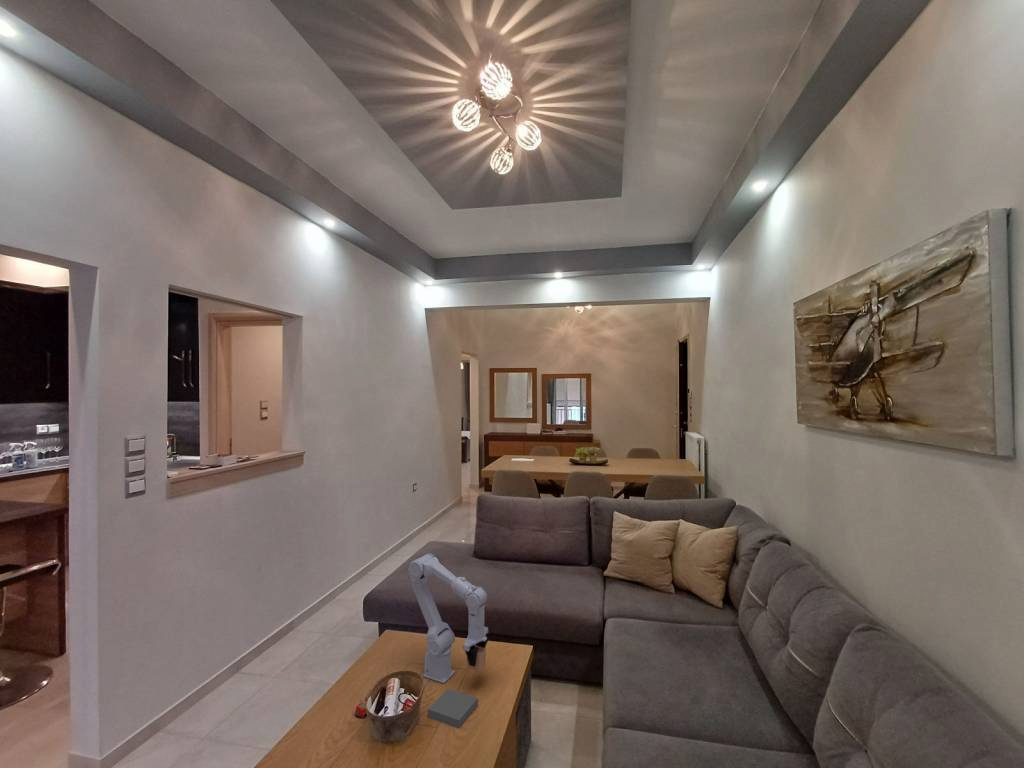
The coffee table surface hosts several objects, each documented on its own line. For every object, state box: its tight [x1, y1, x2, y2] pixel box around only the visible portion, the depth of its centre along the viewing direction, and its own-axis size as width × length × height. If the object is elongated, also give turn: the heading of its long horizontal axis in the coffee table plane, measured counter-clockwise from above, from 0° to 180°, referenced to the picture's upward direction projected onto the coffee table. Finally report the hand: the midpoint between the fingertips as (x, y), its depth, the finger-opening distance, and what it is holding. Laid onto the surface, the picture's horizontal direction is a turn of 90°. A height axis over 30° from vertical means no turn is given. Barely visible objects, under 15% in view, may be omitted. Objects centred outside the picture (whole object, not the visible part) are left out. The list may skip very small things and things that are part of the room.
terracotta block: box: [466, 645, 487, 673], centre depth 173 cm, size 5×5×6 cm
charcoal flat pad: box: [427, 688, 479, 729], centre depth 159 cm, size 12×12×3 cm
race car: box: [355, 697, 368, 719], centre depth 161 cm, size 13×5×4 cm, turn 136°
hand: (476, 661), depth 173 cm, fingers closed on terracotta block, 5 cm apart
